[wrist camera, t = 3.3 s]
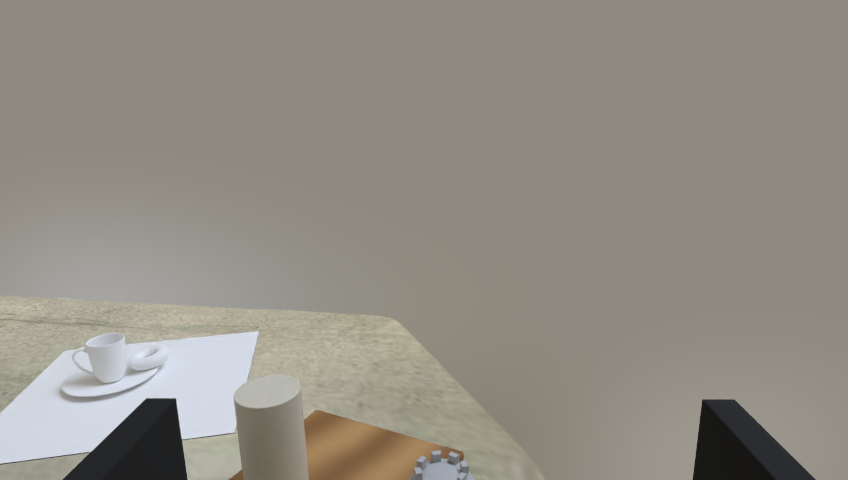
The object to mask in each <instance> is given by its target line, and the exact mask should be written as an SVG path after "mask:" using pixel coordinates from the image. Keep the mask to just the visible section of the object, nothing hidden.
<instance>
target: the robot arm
mask: <svg viewBox="0 0 848 480" xmlns="http://www.w3.org/2000/svg"><path fill="white" fill-rule="evenodd" d="M63 480H187V474H186V466H185V459H184V452H183V445H182V438H181V431H180V424H179V417H178V410H177V403H176V398H146V399H145V400H144V401H143V402H142V403H141V404H140V405H139V406H138V407H137V408H136V409H135V410H134V411H133V412H132V413H131V414H130V415H129V416H128V417H127V418H125V419H124V420H123V421H122V422H121V423H120V424H119V425H118V426H117V427H116V428H115V429H114V430H113V431H112V432H111V433H110V434H109V435H108V436H107V437H106V438H105V439H104V440H103V441H102V442H101V443H100V444H99V445H98V446H97V447H96V448H95V449H94V450H93V451H92V452H91V453H90V454H89V455H87V456H86V457H85V458H84V459H83V460H82V461H81V462H80V463H79V464H78V465H77V466H76V467H75V468H74V469H73V470H72V471H71V472H70V473H69V474H68V475H67V476H66V477H65V478H64V479H63ZM693 480H815V479H814V478H813V477H812V476H811V475H810V474H809V473H808V472H807V471H806V470H805V469H804V468H803V467H802V466H801V465H800V464H799V463H798V462H797V461H796V460H795V459H794V458H793V457H792V456H791V455H790V454H789V453H788V452H787V451H786V450H785V449H784V448H783V447H782V446H781V445H780V444H779V443H778V442H777V441H776V440H775V439H774V438H773V437H772V436H771V435H770V434H769V433H768V432H766V430H765V429H764V428H763V427H762V426H761V425H760V424H759V423H757V422H756V420H755V419H754V418H753V417H752V416H750V415H749V414H748V413H747V412H746V411H745V410H744V409H743V408H742V407H741V406H740V405H739V404H738V403H737V402H736V401H735V400H702V408H701V416H700V424H699V433H698V442H697V449H696V458H695V466H694V474H693Z"/></svg>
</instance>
